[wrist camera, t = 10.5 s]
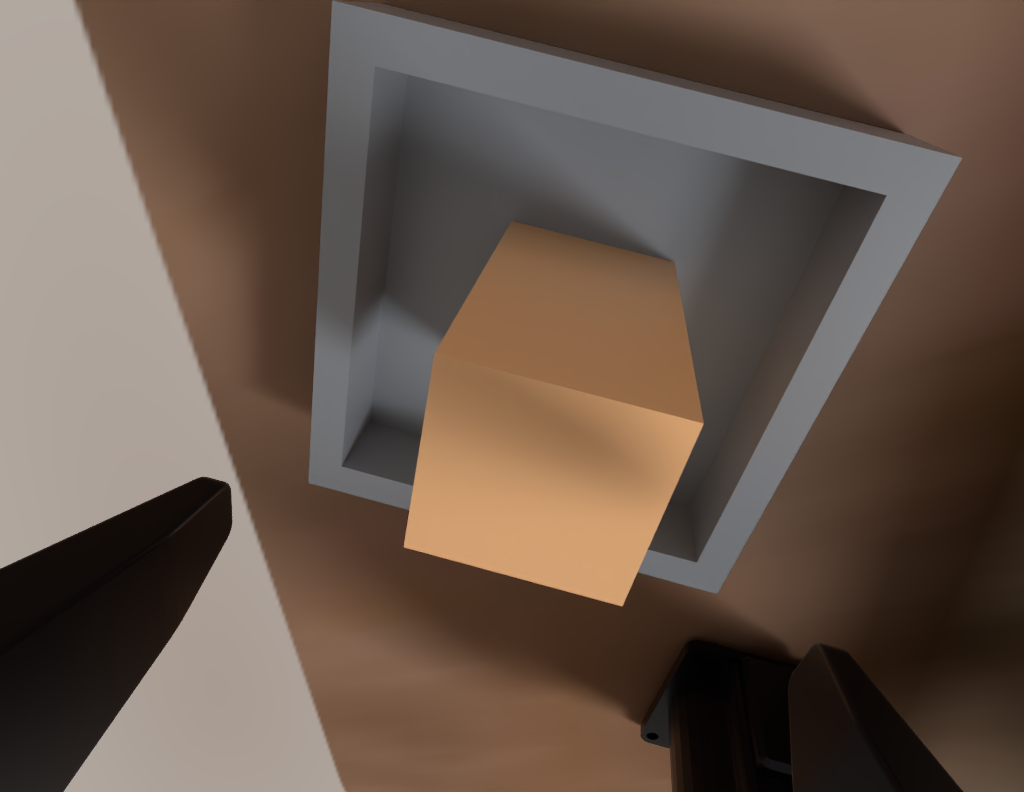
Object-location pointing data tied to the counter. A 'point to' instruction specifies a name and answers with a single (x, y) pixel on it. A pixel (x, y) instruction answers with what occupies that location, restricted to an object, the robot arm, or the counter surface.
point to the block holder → (603, 219)
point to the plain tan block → (557, 416)
